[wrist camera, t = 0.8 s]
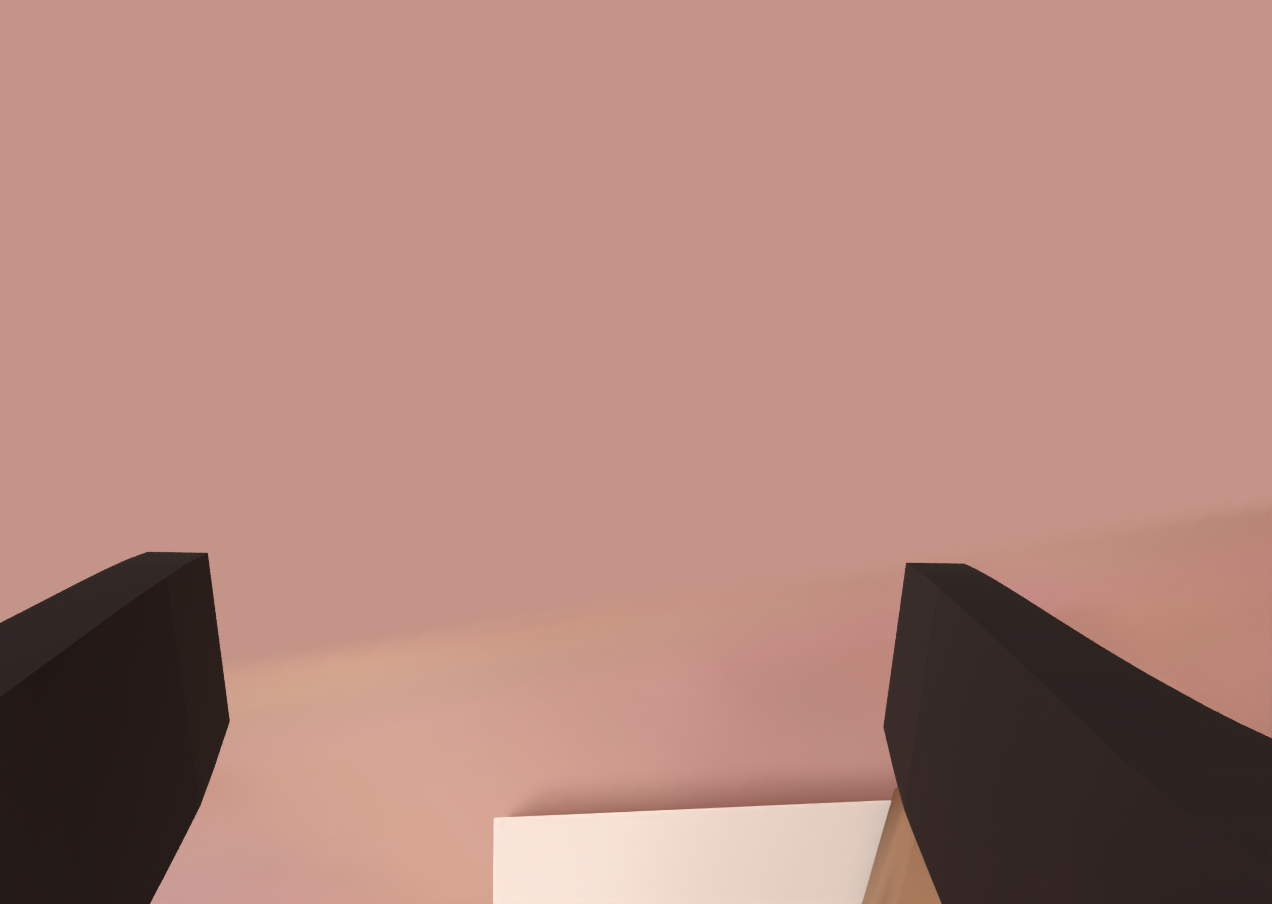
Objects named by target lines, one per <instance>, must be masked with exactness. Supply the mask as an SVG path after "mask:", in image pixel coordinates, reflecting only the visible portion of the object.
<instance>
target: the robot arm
mask: <svg viewBox="0 0 1272 904" xmlns="http://www.w3.org/2000/svg"><path fill="white" fill-rule="evenodd" d="M229 722H230V719H229V712H228V704H227V696H226V689H225V681H224V673H223V666H222V658H221V651H220V644H219V635H218V628H217V620H216V612H215V605H214V597H213V590H212V582H211V575H210V567H209V559H208V553H180V552H178V553H177V552H146V553H144V554H141V555H138V556H136V557H133V558H130V559H127V560H125V561H123V562H120V563H118V564H116V565H114V566H112V567H109V568H108V569H105V570H103V571H101V572H99V573H97V574H95V575H93V576H91V577H89V578H87V579H85V580H83V581H81V582H79V583H77V584H75V585H73V586H71V587H69V588H67V589H66V590H63V591H62V592H60V593H58V594H56V595H54V596H52V597H50V598H48V599H46V600H44V601H42V602H40V603H38V604H36V605H34V606H32V607H31V608H29V609H27V610H25V611H23V612H21V613H19V614H17V615H15V616H13V617H11V618H9V619H7V620H5V621H3V622H1V623H0V904H150V903H151V901H152V899H153V897H154V895H155V893H156V891H157V889H158V887H159V885H160V884H161V882H162V880H163V878H164V876H165V874H166V872H167V870H168V868H169V866H170V864H171V862H172V860H173V859H174V857H175V855H176V853H177V851H178V849H179V847H180V845H181V843H182V841H183V839H184V837H185V835H186V833H187V831H188V829H189V827H190V825H191V823H192V821H193V819H194V817H195V815H196V813H197V811H198V809H199V807H200V805H201V802H202V800H203V797H204V794H205V792H206V789H207V786H208V783H209V781H210V778H211V775H212V773H213V770H214V767H215V764H216V761H217V758H218V755H219V752H220V749H221V746H222V743H223V740H224V737H225V734H226V731H227V728H228V725H229ZM884 731H885V735H886V740H887V744H888V748H889V752H890V757H891V761H892V765H893V769H894V774H895V777H896V781H897V785H898V789H899V792H900V796H901V800H902V804H903V808H904V811H905V813H906V816H907V819H908V821H909V824H910V826H911V829H912V832H913V834H914V837H915V839H916V842H917V844H918V847H919V849H920V852H921V854H922V857H923V859H924V862H925V864H926V867H927V869H928V872H929V874H930V877H931V879H932V882H933V884H934V886H935V889H936V891H937V894H938V896H939V899H940V901H941V904H1272V738H1270V737H1268V736H1265V735H1263V734H1261V733H1259V732H1257V731H1255V730H1253V729H1250V728H1248V727H1246V726H1244V725H1242V724H1240V723H1238V722H1236V721H1234V720H1232V719H1230V718H1228V717H1226V716H1224V715H1222V714H1220V713H1218V712H1216V711H1214V710H1212V709H1210V708H1208V707H1206V706H1204V705H1203V704H1201V703H1199V702H1197V701H1195V700H1194V699H1192V698H1190V697H1188V696H1186V695H1185V694H1183V693H1181V692H1179V691H1177V690H1175V689H1174V688H1172V687H1170V686H1168V685H1166V684H1165V683H1163V682H1161V681H1159V680H1157V679H1156V678H1154V677H1152V676H1150V675H1148V674H1147V673H1145V672H1143V671H1142V670H1140V669H1138V668H1136V667H1135V666H1133V665H1131V664H1130V663H1128V662H1126V661H1125V660H1123V659H1121V658H1119V657H1118V656H1116V655H1115V654H1113V653H1111V652H1110V651H1108V650H1106V649H1105V648H1103V647H1101V646H1100V645H1098V644H1096V643H1095V642H1093V641H1092V640H1090V639H1088V638H1087V637H1085V636H1084V635H1082V634H1080V633H1079V632H1077V631H1076V630H1074V629H1072V628H1071V627H1069V626H1068V625H1066V624H1065V623H1063V622H1061V621H1060V620H1058V619H1057V618H1055V617H1053V616H1052V615H1050V614H1049V613H1047V612H1046V611H1044V610H1042V609H1041V608H1039V607H1038V606H1036V605H1035V604H1033V603H1031V602H1030V601H1028V600H1027V599H1025V598H1024V597H1022V596H1020V595H1019V594H1017V593H1016V592H1014V591H1012V590H1011V589H1009V588H1008V587H1006V586H1004V585H1003V584H1001V583H999V582H998V581H996V580H994V579H993V578H991V577H989V576H987V575H986V574H984V573H982V572H980V571H978V570H976V569H974V568H972V567H970V566H968V565H966V564H950V563H906V568H905V575H904V583H903V590H902V597H901V604H900V611H899V619H898V626H897V633H896V640H895V647H894V655H893V662H892V669H891V676H890V683H889V691H888V698H887V705H886V712H885V719H884Z"/></svg>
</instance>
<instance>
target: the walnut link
mask: <svg viewBox="0 0 1272 904" xmlns="http://www.w3.org/2000/svg"><path fill="white" fill-rule="evenodd" d="M862 904H941V901H940V899H939V896H938V894H937V891H936V889H935V886H934V884H933V882H932V879H931V877H930V874H929V872H928V869H927V867H926V864H925V862H924V859H923V857H922V854H921V852H920V849H919V847H918V844H917V842H916V839H915V837H914V834H913V832H912V829H911V826H910V824H909V821H908V819H907V816H906V813H905V811H904V808H903V804H902V800H901V796H900V792H899V789H898V788H896V789H895V790H894V793H893V797H892V800H891V804H890V807H889V811H888V814H887V818H886V821H885V824H884V828H883V831H882V835H881V838H880V842H879V845H878V849H877V852H876V856H875V859H874V863H873V866H872V870H871V873H870V877H869V880H868V884H867V887H866V891H865V894H864V898H863V901H862Z"/></svg>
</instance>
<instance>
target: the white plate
mask: <svg viewBox="0 0 1272 904" xmlns="http://www.w3.org/2000/svg"><path fill="white" fill-rule="evenodd" d="M890 804H891V800H882V801H860V802H837V803H815V804H792V805H770V806H748V807H725V808H703V809H681V810H658V811H636V812H613V813H591V814H569V815H546V816H524V817H501V818H494V858H493V904H862V901H863V898H864V894H865V891H866V887H867V884H868V880H869V877H870V873H871V870H872V866H873V863H874V859H875V856H876V852H877V849H878V845H879V842H880V838H881V835H882V831H883V828H884V824H885V821H886V818H887V814H888V811H889V807H890Z"/></svg>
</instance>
